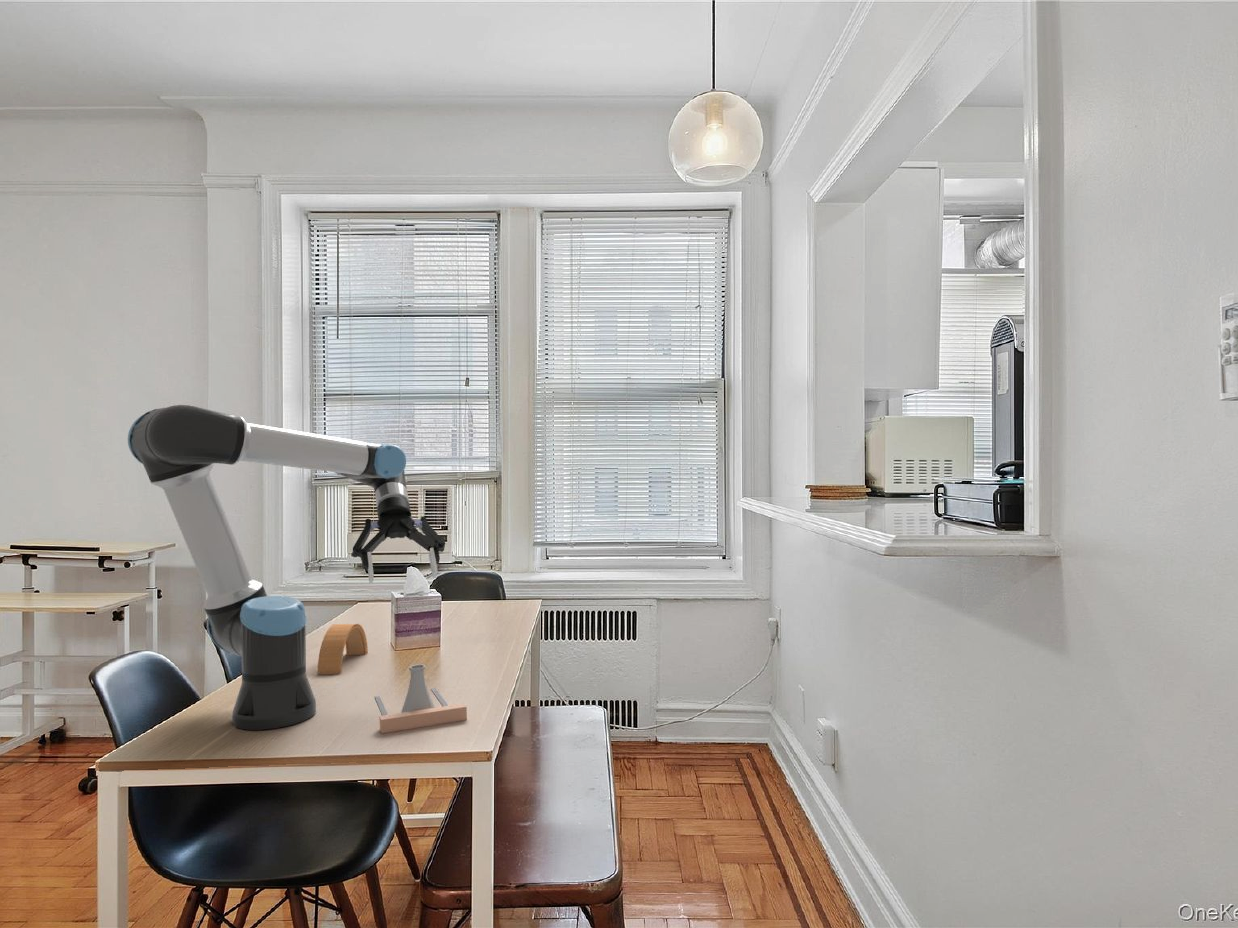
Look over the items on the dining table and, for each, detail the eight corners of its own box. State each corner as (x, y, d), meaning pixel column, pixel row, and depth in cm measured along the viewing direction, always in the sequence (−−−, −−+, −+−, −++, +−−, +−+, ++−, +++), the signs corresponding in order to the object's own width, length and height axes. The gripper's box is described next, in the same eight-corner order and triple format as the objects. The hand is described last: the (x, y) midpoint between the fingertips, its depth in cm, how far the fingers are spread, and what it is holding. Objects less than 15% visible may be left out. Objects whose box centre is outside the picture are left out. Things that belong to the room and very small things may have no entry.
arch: (368, 653, 198) (367, 616, 198) (340, 674, 178) (339, 633, 178) (347, 654, 198) (346, 617, 198) (316, 674, 178) (316, 633, 178)
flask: (397, 713, 147) (396, 664, 147) (434, 708, 150) (433, 659, 150) (401, 724, 140) (400, 672, 140) (439, 719, 143) (438, 668, 143)
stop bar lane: (381, 733, 136) (381, 719, 136) (367, 698, 157) (367, 686, 158) (466, 719, 143) (466, 706, 143) (442, 687, 164) (442, 676, 164)
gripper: (443, 514, 182) (458, 582, 168) (336, 518, 172) (342, 591, 158) (447, 493, 177) (462, 561, 164) (338, 496, 167) (344, 570, 153)
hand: (403, 576), depth 161 cm, fingers open, 13 cm apart
